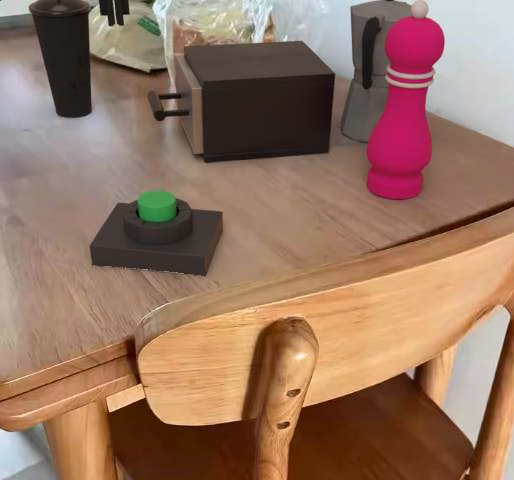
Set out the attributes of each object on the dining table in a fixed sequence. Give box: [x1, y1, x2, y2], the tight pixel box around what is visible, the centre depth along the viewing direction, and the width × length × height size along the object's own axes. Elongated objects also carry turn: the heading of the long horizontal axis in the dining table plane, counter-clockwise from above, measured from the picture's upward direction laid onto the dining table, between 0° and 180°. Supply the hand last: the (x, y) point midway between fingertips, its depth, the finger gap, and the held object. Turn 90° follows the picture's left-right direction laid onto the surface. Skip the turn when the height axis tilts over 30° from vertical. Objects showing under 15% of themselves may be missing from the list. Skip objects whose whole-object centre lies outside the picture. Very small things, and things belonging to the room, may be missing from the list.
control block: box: [89, 197, 224, 277], centre depth 71 cm, size 11×9×4 cm
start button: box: [137, 189, 177, 222], centre depth 70 cm, size 4×4×2 cm
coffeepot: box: [339, 0, 427, 144], centre depth 91 cm, size 15×9×18 cm, turn 158°
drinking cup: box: [28, 0, 93, 118], centre depth 95 cm, size 8×8×20 cm
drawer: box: [146, 55, 204, 155], centre depth 92 cm, size 19×13×8 cm
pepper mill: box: [365, 0, 446, 200], centre depth 78 cm, size 7×7×20 cm
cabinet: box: [183, 40, 336, 164], centre depth 92 cm, size 16×14×10 cm
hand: (115, 22), depth 76 cm, fingers closed
